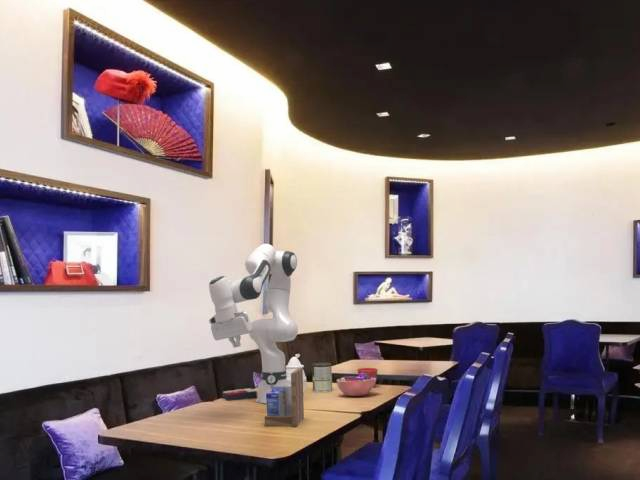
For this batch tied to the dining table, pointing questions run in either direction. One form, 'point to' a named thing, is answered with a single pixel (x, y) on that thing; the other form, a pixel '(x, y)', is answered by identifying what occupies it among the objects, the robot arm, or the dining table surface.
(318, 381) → the coffee can
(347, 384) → the cell model
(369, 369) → the flower pot
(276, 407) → the ink cartridge box
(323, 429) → the dining table surface
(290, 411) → the steel bookend
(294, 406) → the walnut shelf
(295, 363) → the honey pot
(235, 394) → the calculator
